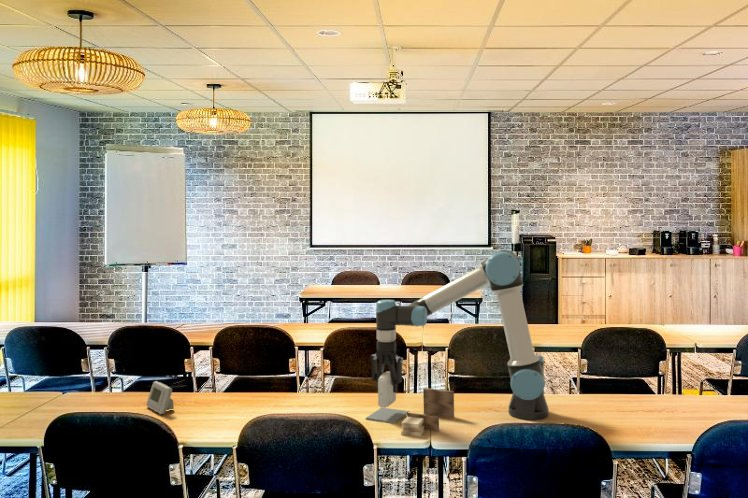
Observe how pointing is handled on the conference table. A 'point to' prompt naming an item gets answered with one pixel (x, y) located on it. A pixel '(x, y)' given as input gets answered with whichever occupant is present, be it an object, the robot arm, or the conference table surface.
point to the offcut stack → (412, 426)
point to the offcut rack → (435, 407)
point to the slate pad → (387, 415)
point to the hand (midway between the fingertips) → (387, 399)
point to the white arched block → (384, 390)
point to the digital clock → (160, 398)
